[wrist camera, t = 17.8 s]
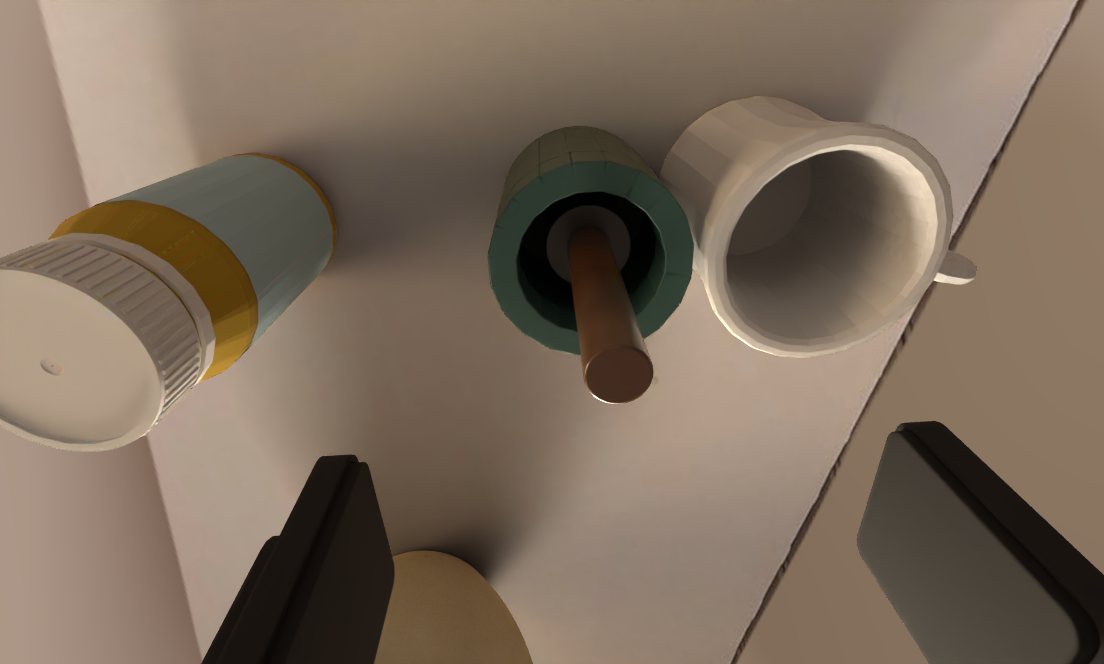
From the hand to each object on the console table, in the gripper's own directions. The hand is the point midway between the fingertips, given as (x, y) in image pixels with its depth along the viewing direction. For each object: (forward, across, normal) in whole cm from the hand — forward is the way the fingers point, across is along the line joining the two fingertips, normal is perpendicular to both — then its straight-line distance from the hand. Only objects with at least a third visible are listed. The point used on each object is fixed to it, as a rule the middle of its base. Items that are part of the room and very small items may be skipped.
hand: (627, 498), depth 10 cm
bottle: (+22, +15, 0) cm, 27 cm away
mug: (+21, -11, 0) cm, 24 cm away
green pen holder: (+21, -1, 0) cm, 21 cm away
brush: (+20, -1, 0) cm, 21 cm away
